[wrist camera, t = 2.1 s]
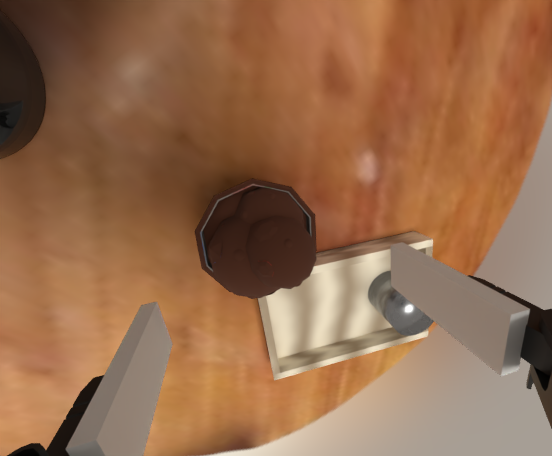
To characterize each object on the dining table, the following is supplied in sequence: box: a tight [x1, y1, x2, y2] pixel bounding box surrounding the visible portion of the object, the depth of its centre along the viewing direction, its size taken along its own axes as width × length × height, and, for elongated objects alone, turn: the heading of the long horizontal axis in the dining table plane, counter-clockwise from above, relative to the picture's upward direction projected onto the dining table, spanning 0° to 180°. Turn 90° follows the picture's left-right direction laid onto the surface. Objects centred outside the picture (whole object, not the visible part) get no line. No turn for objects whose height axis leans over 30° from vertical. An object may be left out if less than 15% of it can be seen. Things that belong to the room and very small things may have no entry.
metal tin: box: [368, 271, 434, 336], centre depth 35 cm, size 6×6×6 cm
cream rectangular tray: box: [258, 231, 433, 380], centre depth 36 cm, size 24×16×4 cm, turn 99°
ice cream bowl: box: [195, 179, 317, 299], centre depth 25 cm, size 11×11×15 cm
